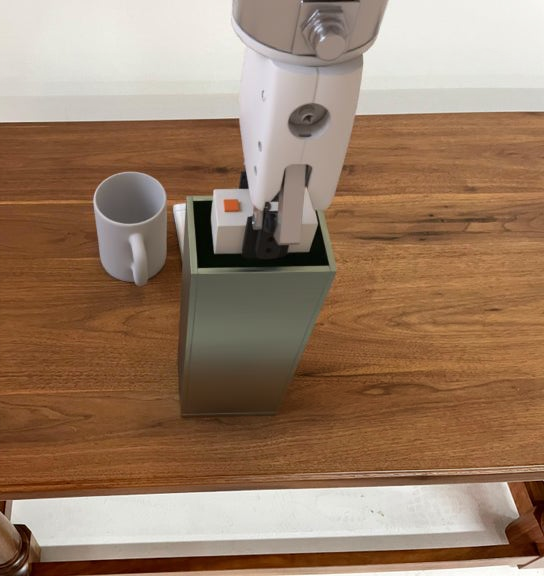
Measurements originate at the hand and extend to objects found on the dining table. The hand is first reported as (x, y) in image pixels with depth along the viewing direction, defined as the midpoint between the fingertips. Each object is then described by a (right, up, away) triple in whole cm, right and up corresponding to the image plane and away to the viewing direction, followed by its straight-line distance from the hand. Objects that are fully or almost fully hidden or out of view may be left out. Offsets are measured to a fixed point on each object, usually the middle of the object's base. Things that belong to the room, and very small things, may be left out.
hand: (260, 230), depth 45 cm
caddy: (0, -15, +22) cm, 27 cm away
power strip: (0, 0, 0) cm, 0 cm away
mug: (-11, -2, +32) cm, 34 cm away
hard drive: (-1, +1, +34) cm, 34 cm away
